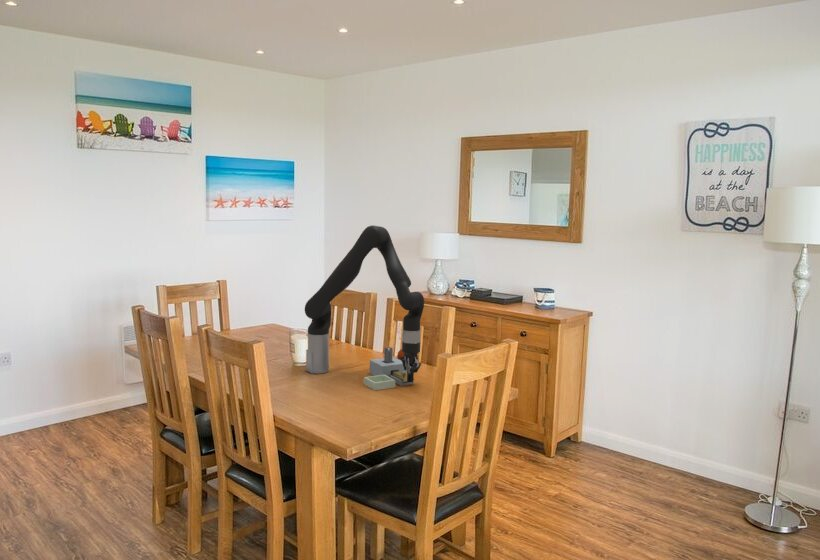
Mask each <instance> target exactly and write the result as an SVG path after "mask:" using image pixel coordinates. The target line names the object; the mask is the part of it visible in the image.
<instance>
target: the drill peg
mask: <svg viewBox="0 0 820 560" xmlns="http://www.w3.org/2000/svg"><path fill="white" fill-rule="evenodd" d="M393 350H394V349H393V347H388V346H387V347H384V350H383V351H384V352H383V354H384V355H383V356H384V357H383V358H384V363H392V357H393ZM391 375H393V374H392V371H391Z"/></svg>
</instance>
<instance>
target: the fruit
mask: <svg viewBox="0 0 820 560" xmlns="http://www.w3.org/2000/svg"><path fill="white" fill-rule="evenodd" d="M396 356H397V357H396V358H397V359H399V360H401V357H403V356H404V352H402V348H401V349H400V350H398V352H397V355H396ZM401 361H402V360H401Z"/></svg>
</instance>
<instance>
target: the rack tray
mask: <svg viewBox="0 0 820 560" xmlns="http://www.w3.org/2000/svg"><path fill="white" fill-rule="evenodd" d="M363 385H364V386H366V387H368V388H369V389H371V390H372V391H380V390H386V389H393V388H396V383H395V380H394V379H392V378H390V377H388V376H386V375H377V376H374V375H371V376H364V377H363Z"/></svg>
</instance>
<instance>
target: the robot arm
mask: <svg viewBox="0 0 820 560" xmlns="http://www.w3.org/2000/svg"><path fill="white" fill-rule="evenodd" d="M374 249H377V250H378V252H379V253H380V255H382V257H383V259H384V262H385V267H386V273H387V275H388V279H390V281H391V283H392V285H393V287H394V289H395V292H396V296H397V299H398V303H399V305H400V306H401V308H403V310H406V311H408V312H407V314H406V315H405V316H403V320H402V335H401V349H402V352H404V356H403V357H401V360H402V363H403V367H404V370H406V372H407V381H408V382H414V379H415V378H414V375H415V373H418V371H419V370H420V367H421V366H422V363H421V362H419V360H418V359H419V355H418V354H419V353H420V352H421V339H422V338H421V319H422V315H423V312H424V307H425V298H424V295H423V294H422V293H421V292H420V291H410V287H411V286H412V281H411V279H410V276H408V273H407V272H406V270H405V268H404V267H403V265H402V262H401V260H400V259H399V258H400V257H399V256H398V253H397V251H396V248H395V247H394V243H393V241H392V238H391V236H390V232H389V231H388V230H387V229H386V228H385V227H384V226H379V225H369V226H367V227H366V228H365V229H363V230H362V232H361V234H360V235H359V236H358V237H357V240H356V241H355V243H354V244H353V246H352V247H351V249H350V250H349V251H348V252H347V254H346V255H345V256H344V258H342V260H341V261H340V262H339V263H338V265H337V266H336V267H335V268H334V270H333V271H332V272H331V274H330V275H329V276H328V278H327V279H326V280H325V281H324V283H323V285H322V286H320V288H319V289H318V290H317V292H315V293H314V294H313V295H312V296H311V297H310V298H309V299H308V300H307V301H306V303H305V305H304V313H305V316H306V317H307V318H309V319H311V322H310V323H309V326H307V349H306V350H305V355H306V356H305V362H306V363H305V368H306V369H305V371H307V372H308V373H310V374H317V375H318V374H325V373H328V372H329V369H330V362H329V361H330V357H329V356H330V349H329V348H330V328H331V324H332V305H331V302H332V301H333V299H335V298H336V297H338V295H340V294H341V293H343V291H344V290H346V289H347V288H348V287H349V286H350V285H351V284H352V283H353V282H354V280H355V279H357V277H358V275H359V274H360V272H361V269H362V266H363V262H364V260H365V259H366V257H367V256H368V254H369V253H370V252H371V251H372V250H374Z"/></svg>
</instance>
